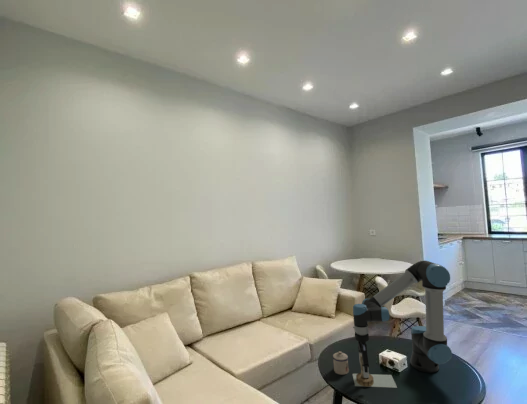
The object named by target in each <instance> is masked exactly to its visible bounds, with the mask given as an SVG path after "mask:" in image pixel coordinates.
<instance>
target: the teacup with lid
mask: <svg viewBox="0 0 527 404" xmlns="http://www.w3.org/2000/svg"><path fill="white" fill-rule="evenodd" d="M332 358H333V359H332V361H333V372H334V373H335V374H337V375H342V376H344V375H347V374H349V372H350V369H349V356H348V354H346V353H344V352H342V350H341V351H338V352H335V353H333V354H332Z"/></svg>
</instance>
